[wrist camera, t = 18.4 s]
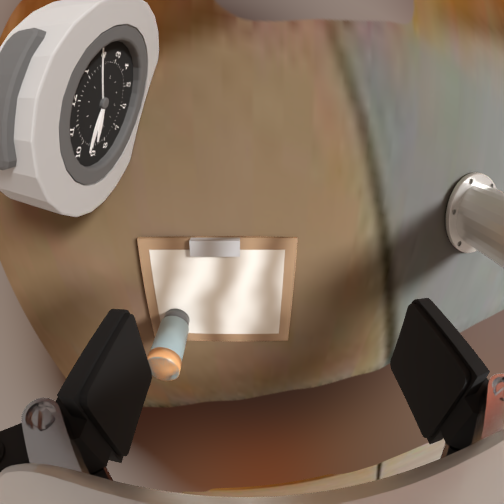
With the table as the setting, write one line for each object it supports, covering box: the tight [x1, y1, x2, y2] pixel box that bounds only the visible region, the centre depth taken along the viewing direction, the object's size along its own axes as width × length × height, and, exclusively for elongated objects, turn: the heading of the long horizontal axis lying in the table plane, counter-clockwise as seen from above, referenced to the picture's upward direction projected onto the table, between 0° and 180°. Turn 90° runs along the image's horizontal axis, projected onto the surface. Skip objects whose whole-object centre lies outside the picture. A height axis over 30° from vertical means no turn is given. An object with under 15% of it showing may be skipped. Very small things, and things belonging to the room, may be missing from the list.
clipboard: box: [137, 236, 298, 341], centre depth 37 cm, size 20×16×2 cm
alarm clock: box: [0, 0, 159, 217], centre depth 19 cm, size 21×8×20 cm, turn 163°
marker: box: [147, 308, 190, 381], centre depth 34 cm, size 4×4×10 cm
